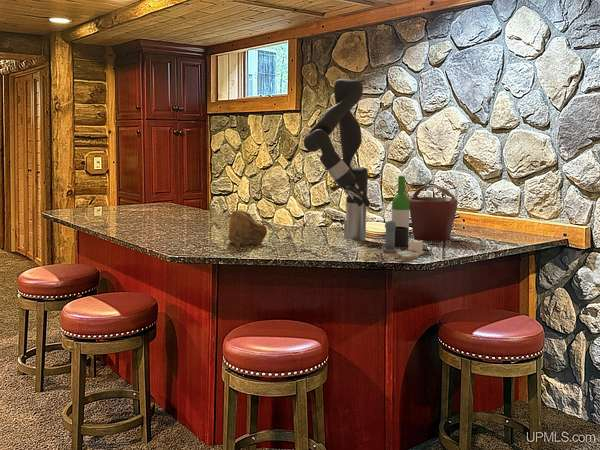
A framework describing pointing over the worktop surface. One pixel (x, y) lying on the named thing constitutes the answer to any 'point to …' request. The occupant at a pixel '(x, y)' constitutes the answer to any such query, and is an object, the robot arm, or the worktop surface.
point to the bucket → (432, 215)
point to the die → (415, 246)
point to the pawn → (390, 237)
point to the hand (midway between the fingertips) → (365, 205)
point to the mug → (401, 237)
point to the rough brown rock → (245, 229)
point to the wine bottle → (401, 206)
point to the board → (402, 255)
